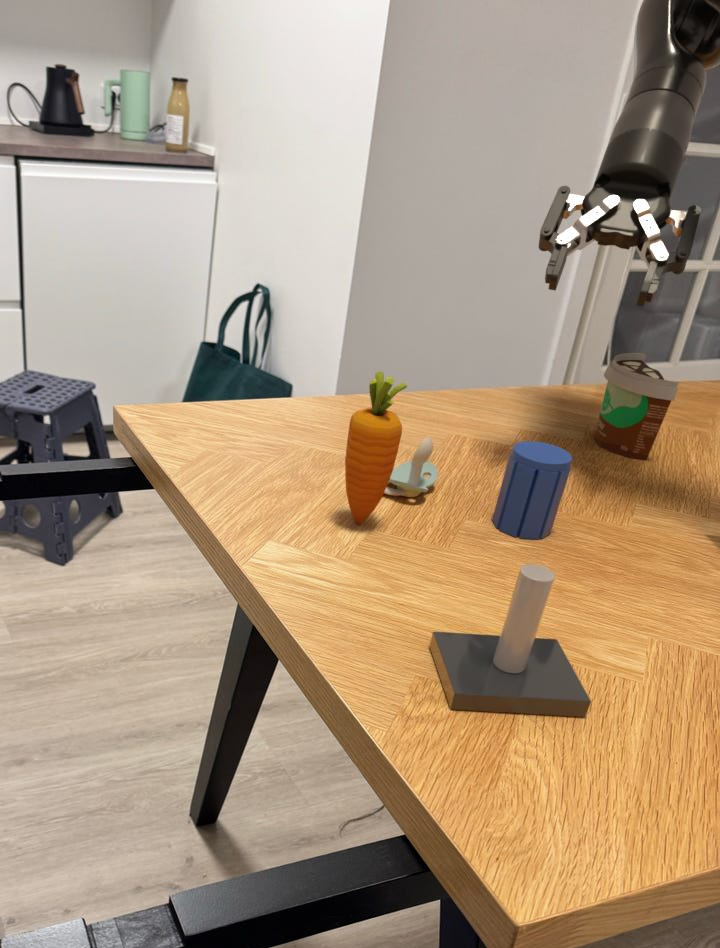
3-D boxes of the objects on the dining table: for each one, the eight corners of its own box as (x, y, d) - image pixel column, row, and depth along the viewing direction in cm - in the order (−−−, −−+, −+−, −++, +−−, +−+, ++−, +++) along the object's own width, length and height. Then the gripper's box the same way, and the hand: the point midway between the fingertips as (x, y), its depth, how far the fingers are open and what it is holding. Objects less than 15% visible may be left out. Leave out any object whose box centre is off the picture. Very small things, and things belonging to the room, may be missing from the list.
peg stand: (551, 654, 71) (588, 549, 66) (585, 717, 64) (628, 607, 59) (429, 646, 70) (455, 540, 65) (450, 709, 64) (481, 597, 59)
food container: (573, 423, 118) (596, 347, 112) (618, 428, 118) (644, 352, 113) (600, 459, 108) (627, 378, 102) (650, 464, 108) (680, 383, 102)
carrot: (341, 508, 90) (365, 360, 82) (388, 519, 89) (418, 371, 81) (327, 527, 86) (351, 374, 78) (376, 539, 85) (406, 385, 77)
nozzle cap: (539, 515, 93) (561, 443, 88) (556, 541, 88) (580, 465, 84) (487, 512, 92) (506, 439, 88) (501, 537, 88) (522, 461, 83)
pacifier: (365, 495, 94) (419, 508, 92) (373, 438, 90) (430, 450, 88) (387, 472, 99) (439, 484, 97) (396, 418, 96) (450, 429, 94)
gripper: (577, 116, 89) (526, 256, 86) (730, 135, 84) (681, 283, 82) (568, 172, 96) (521, 302, 93) (709, 192, 91) (663, 329, 89)
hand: (596, 293), depth 88 cm, fingers open, 8 cm apart
